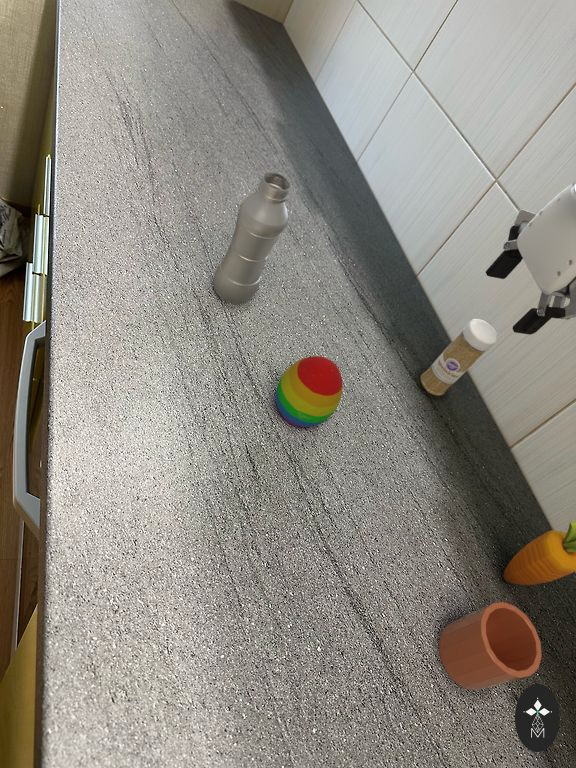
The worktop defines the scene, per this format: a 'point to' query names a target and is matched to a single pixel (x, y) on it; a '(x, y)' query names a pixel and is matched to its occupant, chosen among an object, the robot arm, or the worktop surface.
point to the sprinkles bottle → (459, 356)
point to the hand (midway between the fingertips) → (507, 302)
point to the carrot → (544, 558)
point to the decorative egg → (309, 391)
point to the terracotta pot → (490, 647)
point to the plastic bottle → (253, 239)
